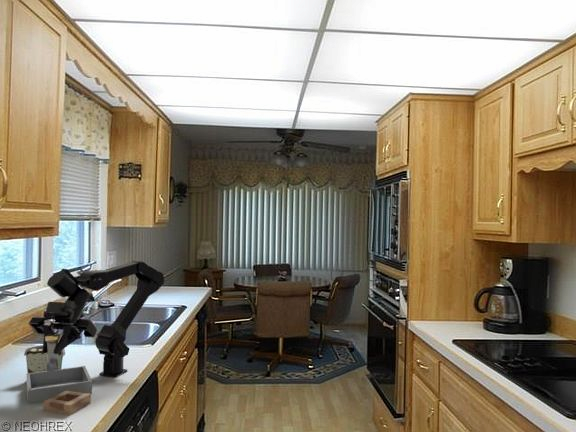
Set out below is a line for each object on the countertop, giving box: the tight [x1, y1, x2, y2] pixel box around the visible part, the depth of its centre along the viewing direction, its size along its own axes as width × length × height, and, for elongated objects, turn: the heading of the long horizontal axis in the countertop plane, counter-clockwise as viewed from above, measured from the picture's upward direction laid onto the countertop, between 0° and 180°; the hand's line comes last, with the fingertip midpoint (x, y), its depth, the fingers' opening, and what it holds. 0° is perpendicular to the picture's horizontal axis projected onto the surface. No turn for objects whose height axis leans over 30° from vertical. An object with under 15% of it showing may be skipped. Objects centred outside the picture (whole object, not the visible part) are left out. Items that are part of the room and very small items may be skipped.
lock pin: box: [45, 333, 61, 371], centre depth 133 cm, size 4×4×10 cm
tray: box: [25, 365, 93, 405], centre depth 137 cm, size 16×16×5 cm
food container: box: [23, 344, 66, 374], centre depth 151 cm, size 12×6×10 cm, turn 92°
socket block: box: [42, 391, 92, 416], centre depth 124 cm, size 8×8×4 cm
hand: (49, 352), depth 132 cm, fingers closed on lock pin, 3 cm apart
